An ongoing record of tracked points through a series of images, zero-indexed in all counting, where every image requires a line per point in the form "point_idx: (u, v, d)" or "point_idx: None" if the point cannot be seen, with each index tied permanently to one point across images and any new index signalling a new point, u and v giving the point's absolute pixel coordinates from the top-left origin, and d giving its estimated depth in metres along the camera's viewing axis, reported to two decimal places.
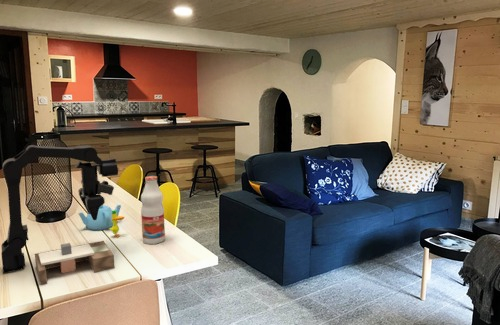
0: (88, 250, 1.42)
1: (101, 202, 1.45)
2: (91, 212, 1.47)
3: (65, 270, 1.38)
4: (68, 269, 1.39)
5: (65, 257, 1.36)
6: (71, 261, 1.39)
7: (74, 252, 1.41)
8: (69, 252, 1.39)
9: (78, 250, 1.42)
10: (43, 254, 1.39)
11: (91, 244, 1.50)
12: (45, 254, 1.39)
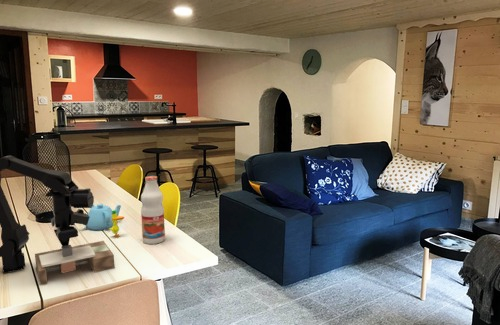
0: (89, 252, 1.41)
1: (74, 235, 1.32)
2: (61, 241, 1.38)
3: (65, 270, 1.38)
4: (68, 269, 1.39)
5: (66, 259, 1.35)
6: (71, 261, 1.39)
7: (75, 253, 1.39)
8: (70, 254, 1.37)
9: (79, 252, 1.40)
10: (44, 256, 1.37)
11: (91, 244, 1.50)
12: (46, 256, 1.37)
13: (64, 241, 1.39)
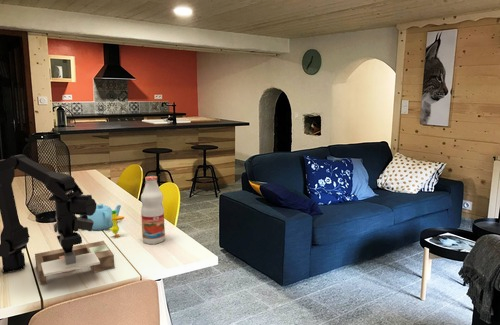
0: (93, 259, 1.35)
1: (78, 242, 1.26)
2: (64, 248, 1.32)
3: None
4: None
5: (69, 267, 1.29)
6: None
7: (79, 261, 1.33)
8: (73, 261, 1.31)
9: (82, 259, 1.34)
10: (46, 263, 1.31)
11: (91, 244, 1.50)
12: (48, 263, 1.31)
13: (67, 248, 1.33)
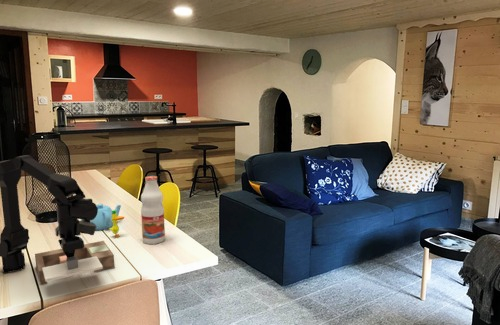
0: (96, 264, 1.31)
1: (80, 246, 1.23)
2: (66, 253, 1.29)
3: None
4: None
5: (71, 272, 1.25)
6: None
7: (81, 265, 1.30)
8: (75, 266, 1.28)
9: (85, 264, 1.31)
10: (47, 268, 1.27)
11: (91, 244, 1.50)
12: (49, 268, 1.27)
13: (69, 252, 1.29)
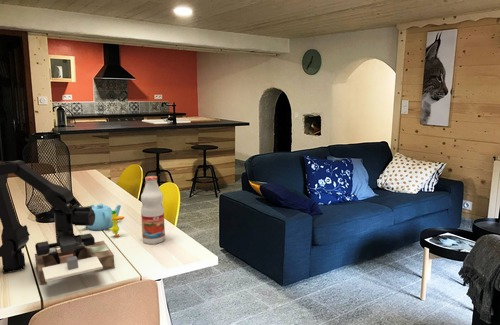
0: (96, 264, 1.31)
1: None
2: None
3: None
4: None
5: (71, 272, 1.25)
6: None
7: (81, 265, 1.30)
8: (75, 266, 1.28)
9: (85, 264, 1.31)
10: (47, 268, 1.27)
11: None
12: (49, 268, 1.27)
13: None
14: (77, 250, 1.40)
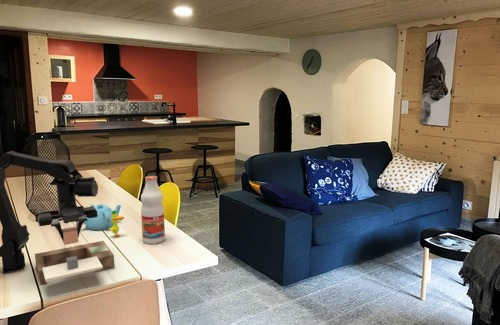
0: (96, 264, 1.31)
1: (39, 223, 1.32)
2: None
3: (68, 242, 1.37)
4: (71, 241, 1.38)
5: (71, 272, 1.25)
6: (74, 233, 1.38)
7: (81, 265, 1.30)
8: (75, 266, 1.28)
9: (85, 264, 1.31)
10: (47, 268, 1.27)
11: (91, 244, 1.50)
12: (49, 268, 1.27)
13: None
14: (80, 222, 1.38)
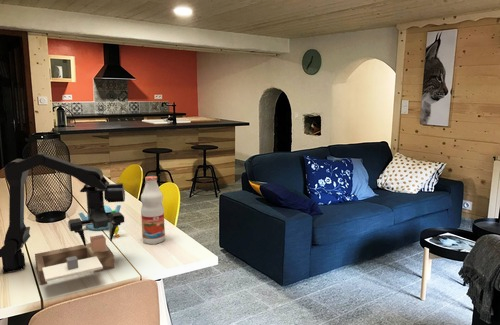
0: (96, 264, 1.31)
1: (70, 228, 1.37)
2: None
3: (97, 249, 1.43)
4: (99, 248, 1.44)
5: (71, 272, 1.25)
6: (102, 241, 1.44)
7: (81, 265, 1.30)
8: (75, 266, 1.28)
9: (85, 264, 1.31)
10: (47, 268, 1.27)
11: None
12: (49, 268, 1.27)
13: None
14: (114, 226, 1.45)
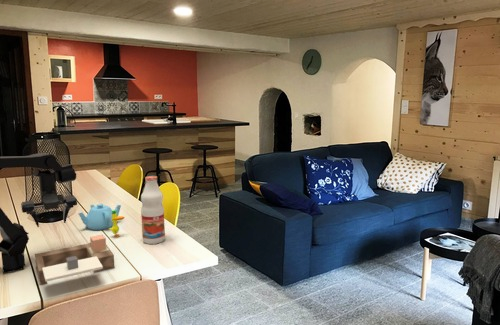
0: (96, 264, 1.31)
1: (22, 210, 1.43)
2: None
3: (97, 249, 1.43)
4: (99, 248, 1.44)
5: (71, 272, 1.25)
6: (102, 241, 1.44)
7: (81, 265, 1.30)
8: (75, 266, 1.28)
9: (85, 264, 1.31)
10: (47, 268, 1.27)
11: None
12: (49, 268, 1.27)
13: None
14: (66, 209, 1.51)
